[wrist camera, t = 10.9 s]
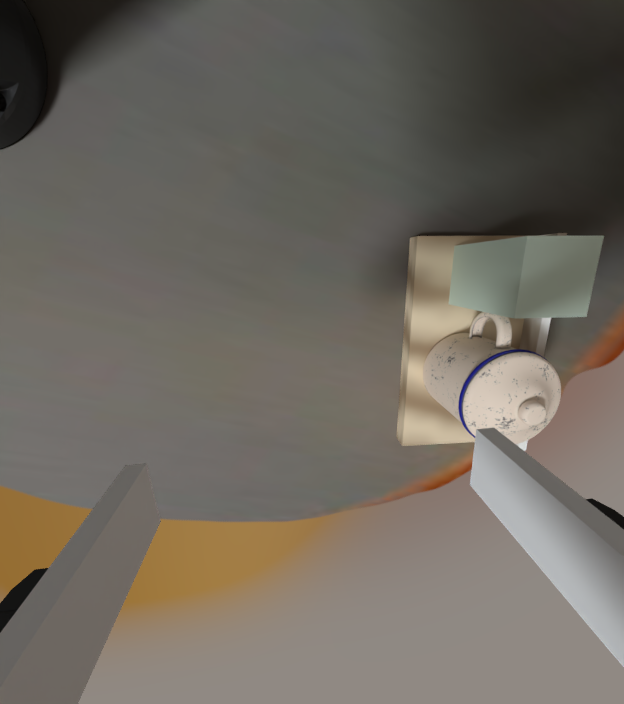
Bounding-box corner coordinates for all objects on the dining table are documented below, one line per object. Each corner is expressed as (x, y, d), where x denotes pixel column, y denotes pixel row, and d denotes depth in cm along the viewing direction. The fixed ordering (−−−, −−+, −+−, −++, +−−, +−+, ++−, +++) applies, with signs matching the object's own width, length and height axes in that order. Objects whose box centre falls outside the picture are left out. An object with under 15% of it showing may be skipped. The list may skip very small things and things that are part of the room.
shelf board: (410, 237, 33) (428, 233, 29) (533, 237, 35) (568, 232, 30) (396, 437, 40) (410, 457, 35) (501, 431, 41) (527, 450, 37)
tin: (454, 245, 32) (527, 235, 22) (511, 245, 33) (605, 235, 23) (448, 304, 34) (514, 318, 24) (502, 303, 34) (588, 316, 24)
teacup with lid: (491, 402, 37) (579, 460, 26) (417, 408, 37) (475, 470, 25) (503, 301, 34) (610, 318, 23) (422, 306, 33) (492, 325, 22)
